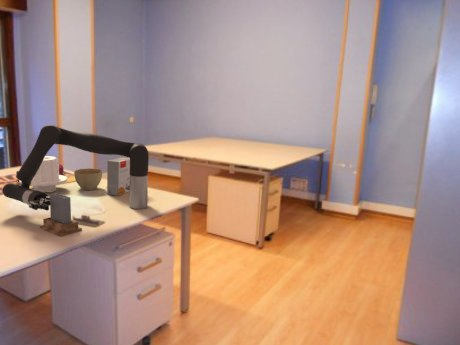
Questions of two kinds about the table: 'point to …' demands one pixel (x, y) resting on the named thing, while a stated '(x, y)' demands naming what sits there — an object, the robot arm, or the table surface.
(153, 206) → the table surface
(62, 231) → the rack
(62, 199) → the grey upright flat block
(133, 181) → the robot arm
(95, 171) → the planter bowl
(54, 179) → the ribbed cylinder on disc
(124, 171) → the hard drive box
